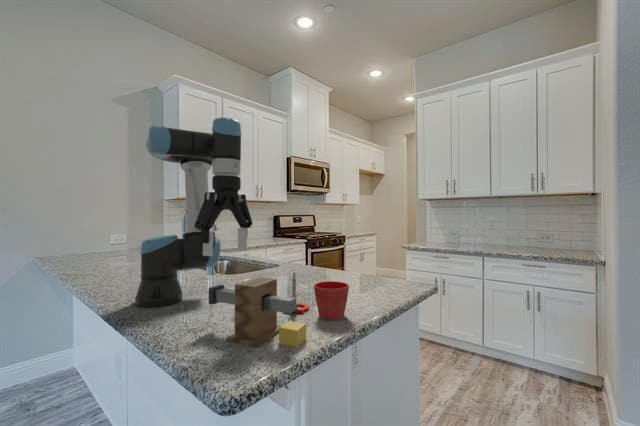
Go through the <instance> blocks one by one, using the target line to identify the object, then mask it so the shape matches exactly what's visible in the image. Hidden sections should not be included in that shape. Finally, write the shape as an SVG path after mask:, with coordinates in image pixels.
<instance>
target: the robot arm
mask: <svg viewBox="0 0 640 426" xmlns="http://www.w3.org/2000/svg"><path fill="white" fill-rule="evenodd" d="M241 129H242V127H241V123H240V122H239V120H237V119H235V118H229V117H218V118H215V119H214V120H213V121H212V128H211V131H212V132H211V133H209V132H204V131H203V132H202V131H196V130H195V131H194V130H188V129H187V130H186V129H181V128H180V129H179V128H172V127H166V126H156V125H151V126H150V127H149V129H148V137H147V139H146V143H145V147H146V150H147V152H148V153H149V154H150V155H151V156H152V157H154V158H156V159H158V160H161V161H165V162H168V163H178V164H180V165H179V167H180V169H181V170H182V171H183V172H184V183H185V209H186V210H185V211H186V213H185V214H186V217H185V218H186V230H185V231H184V232H183V234H182V238H179V236H178V235H176V234H171V235H170V234H169V235H161V236H155V237H150V238H146V239H144V240H142V243H141V245H140V249H141V250H140V253H139V254H140V259H141V261H140V283H139V286H138V289H137V292H136V295H135V297H134V305H135V306H137V307H141V308H156V307H157V308H158V307H163V306H168V305H173V304H176V303H179V302H181V301H182V300H183V290H182V287H181V284H180V282H179V280H178V279H179V278H178V271H184V270H185V271H186V270H196V269H203V270H204V269H206V268H212V267H216V265H217V264H218V262H219V259H220V255H221V244H222V243H221V239H220V237H218V236H216V232H215V231H214V230H213V229H212V228H213V226H214V224H215V222H216V221H217V220H218V218H219V216H220V214H221V212H223V211H224V210H228V211H230V212H231V214H232V215H233V217H234V218H235V221H236V222H237V223H238V226H239V227H237V250H238V251H248V250H247V249H248V243H247V242H248V241H247V240H248V228H249V229H250V228H251V227H252V225H253V220H252V217H251V214H250V210H249V206H248V203H247V196H246V194H244V193H243V194H239V191H241V185H242V182H241V181H242V179H241V177H240V175H241V161H242V159H241V156H242V152H241V151H242V130H241ZM211 169H212V170H211ZM210 170H211V173H212V175H213V176H212V182H211V183H212V185H211V186H212V187H211V188H212V189H213V190H214V191H213V192H212V191H211V192H210V191H209V175H208V173H209V171H210Z"/></svg>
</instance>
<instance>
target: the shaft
mask: <svg viewBox="0 0 640 426" xmlns="http://www.w3.org/2000/svg"><path fill="white" fill-rule="evenodd" d="M291 297H292V296H291ZM291 297H290V296H282V295H278V294H277V295H269V294H266V295H263V296H262V309H265V310H271V311H277V313H283V314H284V313H285V314H293V313H292V312H294V311H296V303H297V297H296V298H291ZM218 303H222V304H228V305H229V304H230V305H234V306H235V289H231V288H225V285H224V284H217V285H214V286H211V287H208V305H215V304H218Z"/></svg>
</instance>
